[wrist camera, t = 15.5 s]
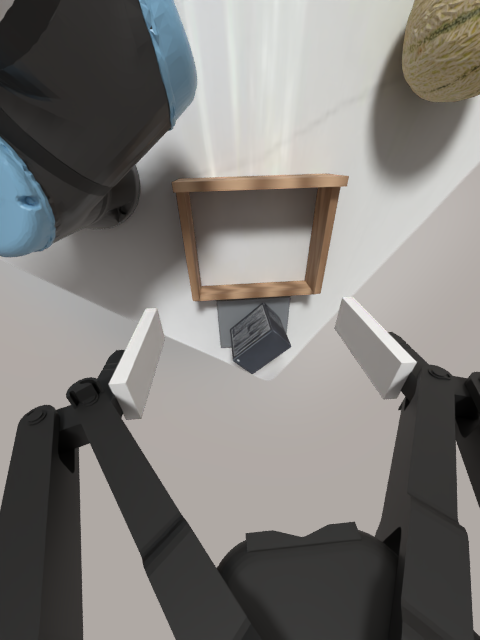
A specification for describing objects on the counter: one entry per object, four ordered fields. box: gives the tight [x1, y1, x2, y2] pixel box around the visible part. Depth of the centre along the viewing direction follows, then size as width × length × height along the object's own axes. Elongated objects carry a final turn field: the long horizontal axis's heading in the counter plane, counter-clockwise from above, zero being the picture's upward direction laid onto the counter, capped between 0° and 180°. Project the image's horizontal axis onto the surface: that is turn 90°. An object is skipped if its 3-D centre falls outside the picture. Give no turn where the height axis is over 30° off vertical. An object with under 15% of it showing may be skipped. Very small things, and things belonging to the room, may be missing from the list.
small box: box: [230, 302, 291, 374], centre depth 50 cm, size 11×6×10 cm, turn 133°
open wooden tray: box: [172, 174, 349, 301], centre depth 41 cm, size 24×20×8 cm
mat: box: [217, 296, 290, 348], centre depth 55 cm, size 16×13×1 cm
